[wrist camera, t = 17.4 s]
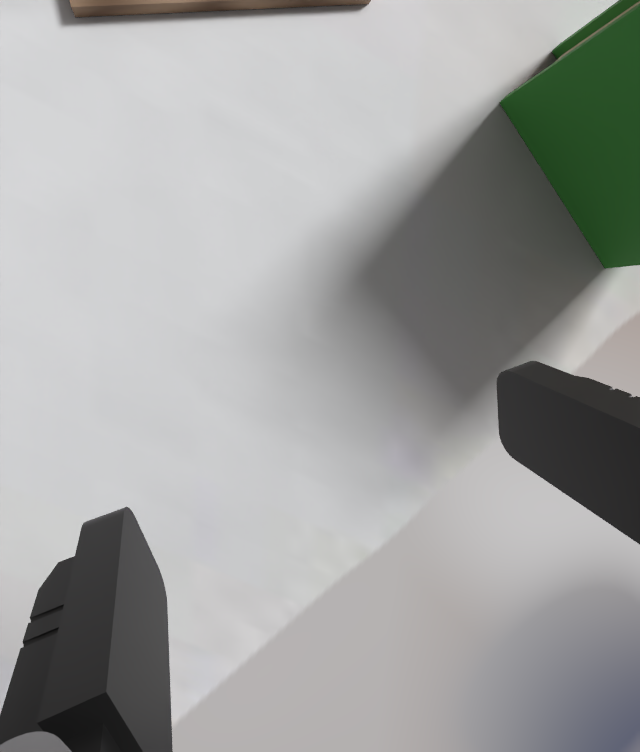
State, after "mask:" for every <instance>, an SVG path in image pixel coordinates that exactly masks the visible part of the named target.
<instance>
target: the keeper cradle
mask: <svg viewBox="0 0 640 752" xmlns="http://www.w3.org/2000/svg"><path fill="white" fill-rule="evenodd" d="M69 1H70V4H71V8H72V10H73V13H74V15H75V17H91V16H113V15H135V14H157V13H179V12H201V11H223V10H245V9H267V8H289V7H311V6H333V5H355V4H369V2H370V1H371V0H69Z"/></svg>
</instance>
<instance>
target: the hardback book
mask: <svg viewBox="0 0 640 752" xmlns="http://www.w3.org/2000/svg"><path fill="white" fill-rule="evenodd" d="M552 52H553V54H554V56H555V57H556V59H557V60H556V61H555V62H554V63H553V64H551V65H550V66H548V67H547V68H546V69H544V70H543V71H541V72H540V73H538V74H537V75H535V76H534V77H533V78H531V79H530V80H528V81H527V82H525V83H524V84H522V85H521V86H520V87H518V88H517V89H515V90H514V91H512V92H511V93H509V94H508V95H507V96H506V97H505V98H504V99H503V100H502V101H501V102H500V104H501V106H502V107H503V109H504V111H505V112H506V114H507V115H508V117H509V118H510V120H511V122H512V123H513V125H514V126H515V128H516V129H517V131H518V133H519V134H520V136H521V137H522V139H523V140H524V142H525V144H526V145H527V147H528V148H529V150H530V151H531V153H532V155H533V156H534V158H535V159H536V161H537V163H538V164H539V166H540V167H541V169H542V170H543V172H544V174H545V175H546V177H547V178H548V180H549V181H550V183H551V185H552V186H553V188H554V189H555V191H556V192H557V194H558V196H559V197H560V199H561V200H562V202H563V203H564V205H565V207H566V208H567V210H568V211H569V213H570V214H571V216H572V218H573V219H574V221H575V222H576V224H577V225H578V227H579V229H580V230H581V232H582V233H583V235H584V236H585V238H586V240H587V241H588V243H589V244H590V246H591V247H592V249H593V251H594V252H595V254H596V255H597V257H598V258H599V260H600V262H601V263H602V265H603V266H604V268H613V267H623V266H633V265H640V0H619V1H618V2H616V3H615V4H614V5H612V6H611V7H609V8H608V9H607V10H605V11H604V12H603V13H601V14H600V15H599V16H597V17H596V18H594V19H593V20H592V21H590V22H589V23H588V24H586V25H585V26H584V27H582V28H581V29H579V30H578V31H577V32H575V33H574V34H573V35H571V36H570V37H569V38H567V39H566V40H564V41H563V42H562V43H560V44H559V45H558V46H557V47H556V48H555V49H554V50H553V51H552Z"/></svg>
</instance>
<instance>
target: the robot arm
mask: <svg viewBox="0 0 640 752" xmlns="http://www.w3.org/2000/svg"><path fill="white" fill-rule="evenodd" d="M497 400H498V420H499V435H500V439H501V442H502V444H503V446H504V448H505V449H506V451H507V452H508V453H509V455H510V456H512V458H514V459H515V460H516V461H518V462H519V463H521V464H522V465H524V466H525V467H527V468H528V469H530V470H531V471H533V472H534V473H536V474H537V475H538V476H540V477H541V478H543V479H544V480H546V481H547V482H549V483H550V484H552V485H553V486H555V487H556V488H558V489H559V490H561V491H562V492H563V493H565V494H566V495H568V496H569V497H571V498H572V499H574V500H575V501H577V502H578V503H580V504H581V505H583V506H584V507H586V508H587V509H589V510H590V511H592V512H593V513H594V514H596V515H598V516H599V517H600V518H602V519H603V520H605V521H606V522H608V523H609V524H611V525H612V526H614V527H615V528H617V529H618V530H619V531H621V532H623V533H624V534H625V535H627V536H628V537H630V538H631V539H633V540H634V541H636V542H637V543H639V544H640V397H637V396H636V397H632V395H631V394H629V393H627V392H624V391H621V390H619V389H615V390H613V389H612V387H610V386H608V385H605V384H603V383H600V382H597V381H595V380H592V379H589V378H585V377H579V376H574V375H571V374H568V373H566V372H563V371H561V370H558V369H555V368H553V367H550V366H548V365H545V364H542V363H540V362H537V361H530V362H527V363H525V364H522V365H519V366H516V367H514V368H511V369H508V370H505V371H503V372H501V373H500V374H499V376H498V378H497ZM30 619H31V623H28V626H27V629H26V633H25V636H24V639H23V644H24V647H23V648H21V649H20V652H19V656H18V659H17V662H16V665H15V669H14V672H13V675H12V678H11V682H10V685H9V688H8V692H7V695H6V698H5V701H4V705H3V708H2V711H1V715H0V752H172V726H171V698H170V670H169V642H168V614H167V597H166V591H165V587H164V582H163V579H162V576H161V573H160V570H159V568H158V565H157V563H156V561H155V559H154V557H153V555H152V552H151V550H150V548H149V546H148V544H147V542H146V539H145V537H144V535H143V533H142V531H141V529H140V527H139V524H138V522H137V520H136V518H135V516H134V514H133V512H132V511H131V509H130V508H128V507H125V508H123V509H120V510H117V511H114V512H112V513H109V514H106V515H103V516H101V517H98V518H95V519H92V520H90V521H87V522H85V523H83V525H82V528H81V532H80V537H79V541H78V546H77V550H76V554H75V556H74V557H72V558H69V559H66V560H64V561H61V562H58V564H57V565H56V567H55V568H54V569H53V571H52V572H51V573H50V575H49V576H48V578H47V579H46V580H45V582H44V583H43V585H42V586H41V587H40V589H39V590H38V593H37V597H36V600H35V603H34V606H33V610H32V613H31V616H30Z"/></svg>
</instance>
